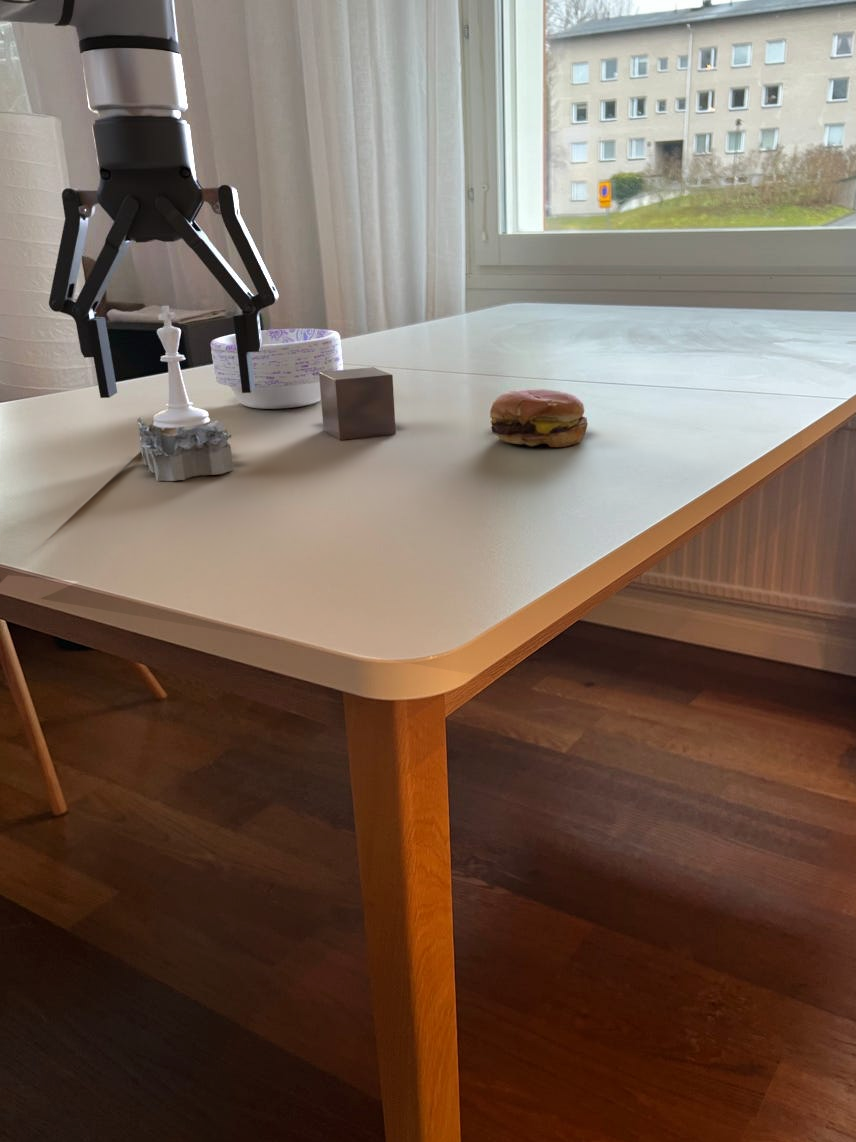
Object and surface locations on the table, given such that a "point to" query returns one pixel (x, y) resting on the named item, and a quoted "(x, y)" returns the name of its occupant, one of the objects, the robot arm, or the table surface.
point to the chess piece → (175, 382)
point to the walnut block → (357, 403)
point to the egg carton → (186, 451)
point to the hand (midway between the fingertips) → (179, 393)
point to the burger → (538, 418)
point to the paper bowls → (280, 366)
